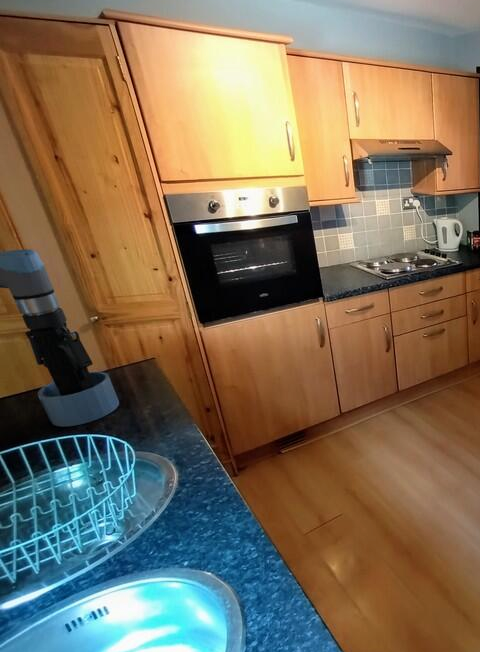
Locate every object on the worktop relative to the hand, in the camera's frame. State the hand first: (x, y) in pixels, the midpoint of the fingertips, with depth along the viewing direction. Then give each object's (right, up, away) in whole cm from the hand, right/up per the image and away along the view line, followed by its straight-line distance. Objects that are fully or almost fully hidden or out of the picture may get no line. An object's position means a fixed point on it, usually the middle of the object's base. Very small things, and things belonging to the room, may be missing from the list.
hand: (76, 387), depth 125 cm
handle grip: (0, -7, +3) cm, 7 cm away
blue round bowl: (0, -7, +3) cm, 8 cm away
